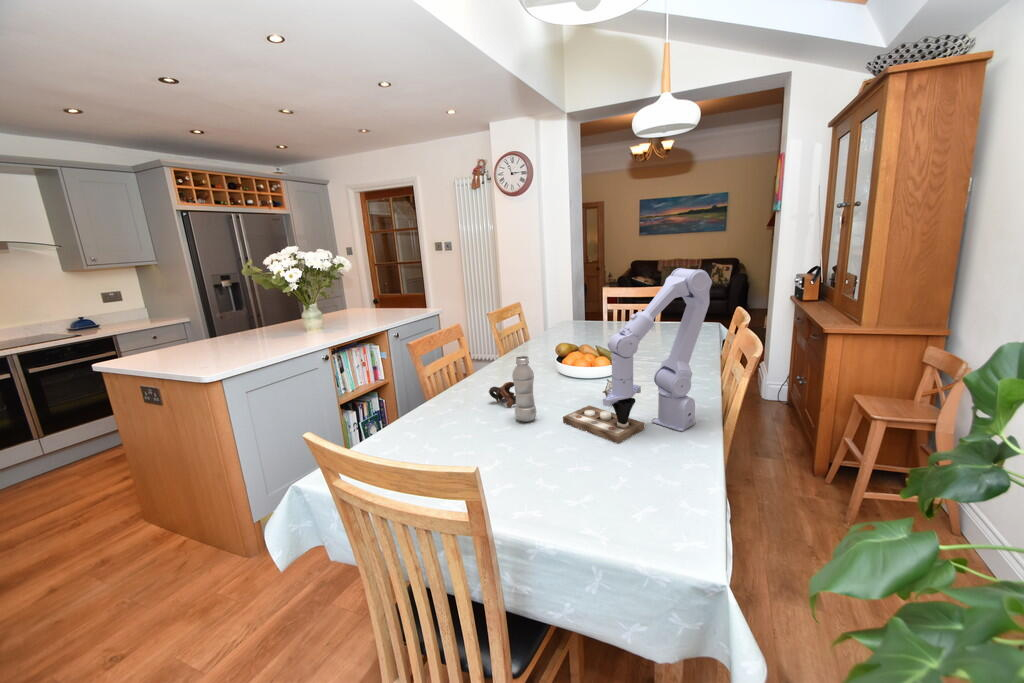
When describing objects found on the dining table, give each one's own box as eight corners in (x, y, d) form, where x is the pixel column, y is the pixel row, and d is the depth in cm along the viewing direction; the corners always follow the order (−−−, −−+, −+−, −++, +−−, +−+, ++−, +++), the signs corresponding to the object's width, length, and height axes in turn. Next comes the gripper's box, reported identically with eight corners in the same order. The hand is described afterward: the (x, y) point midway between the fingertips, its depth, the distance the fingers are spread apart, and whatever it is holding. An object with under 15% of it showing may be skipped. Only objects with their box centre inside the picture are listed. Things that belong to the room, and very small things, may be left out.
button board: (644, 429, 123) (644, 421, 123) (618, 443, 116) (618, 435, 115) (589, 411, 138) (589, 404, 138) (563, 422, 131) (562, 415, 131)
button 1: (597, 417, 132) (597, 411, 132) (590, 421, 130) (590, 414, 130) (589, 415, 135) (589, 409, 134) (582, 418, 133) (582, 412, 132)
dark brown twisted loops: (520, 397, 156) (526, 381, 151) (520, 417, 149) (525, 401, 144) (487, 391, 155) (491, 375, 150) (485, 411, 148) (489, 395, 143)
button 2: (630, 429, 123) (630, 422, 123) (624, 432, 121) (624, 426, 121) (621, 426, 126) (621, 419, 125) (614, 429, 124) (614, 422, 123)
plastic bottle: (535, 424, 131) (531, 360, 127) (513, 424, 133) (509, 360, 128) (538, 416, 137) (535, 354, 133) (517, 415, 139) (513, 354, 134)
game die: (619, 416, 143) (621, 399, 135) (596, 403, 147) (597, 386, 139) (633, 396, 147) (635, 379, 139) (610, 384, 151) (612, 367, 143)
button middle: (613, 419, 128) (613, 413, 127) (606, 422, 126) (606, 416, 125) (604, 416, 130) (604, 410, 130) (597, 419, 128) (597, 413, 128)
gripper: (626, 368, 128) (626, 411, 131) (593, 380, 119) (594, 426, 122) (647, 372, 122) (646, 418, 125) (615, 386, 113) (615, 434, 116)
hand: (622, 423), depth 123 cm, fingers closed, pressing on button 2
